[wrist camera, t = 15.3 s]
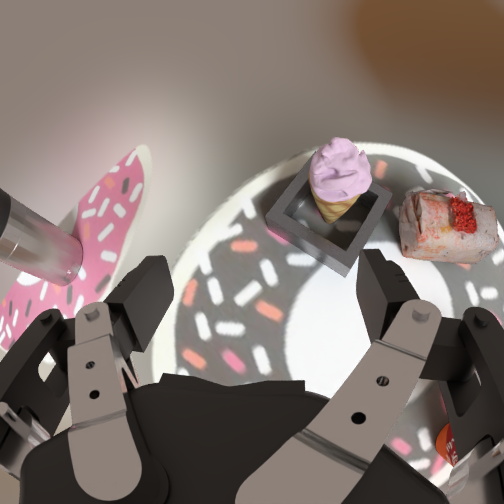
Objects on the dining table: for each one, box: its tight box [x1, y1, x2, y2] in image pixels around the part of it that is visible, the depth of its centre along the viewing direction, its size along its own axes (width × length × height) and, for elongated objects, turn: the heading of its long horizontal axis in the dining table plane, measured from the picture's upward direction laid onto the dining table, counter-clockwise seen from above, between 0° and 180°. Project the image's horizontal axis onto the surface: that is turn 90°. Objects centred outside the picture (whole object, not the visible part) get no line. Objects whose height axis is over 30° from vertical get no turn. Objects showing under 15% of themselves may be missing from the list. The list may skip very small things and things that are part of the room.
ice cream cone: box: [308, 137, 372, 224], centre depth 30 cm, size 7×6×15 cm
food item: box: [399, 189, 499, 264], centre depth 29 cm, size 14×8×10 cm, turn 82°
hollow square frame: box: [265, 151, 393, 277], centre depth 35 cm, size 12×12×4 cm
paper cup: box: [436, 423, 458, 467], centre depth 17 cm, size 8×8×14 cm
